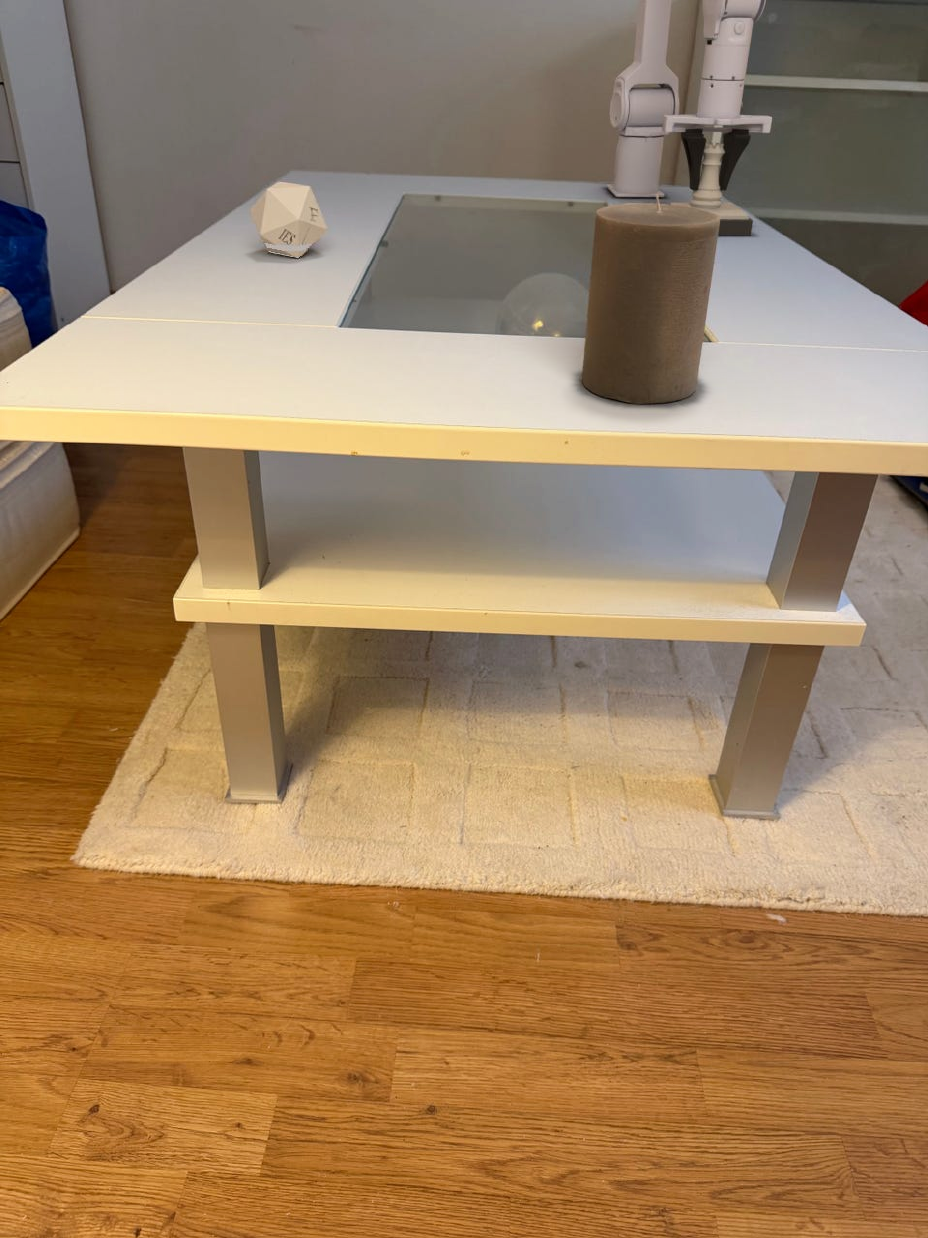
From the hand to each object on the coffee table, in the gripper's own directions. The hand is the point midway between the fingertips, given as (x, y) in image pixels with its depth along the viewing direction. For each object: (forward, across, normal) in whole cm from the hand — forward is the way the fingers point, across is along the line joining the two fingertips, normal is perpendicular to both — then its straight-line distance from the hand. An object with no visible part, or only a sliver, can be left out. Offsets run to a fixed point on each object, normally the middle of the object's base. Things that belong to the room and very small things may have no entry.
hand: (707, 189), depth 134 cm
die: (+5, -57, -18) cm, 60 cm away
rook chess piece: (+2, 0, 0) cm, 2 cm away
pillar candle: (+5, -22, -66) cm, 70 cm away
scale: (+5, 0, -2) cm, 5 cm away
